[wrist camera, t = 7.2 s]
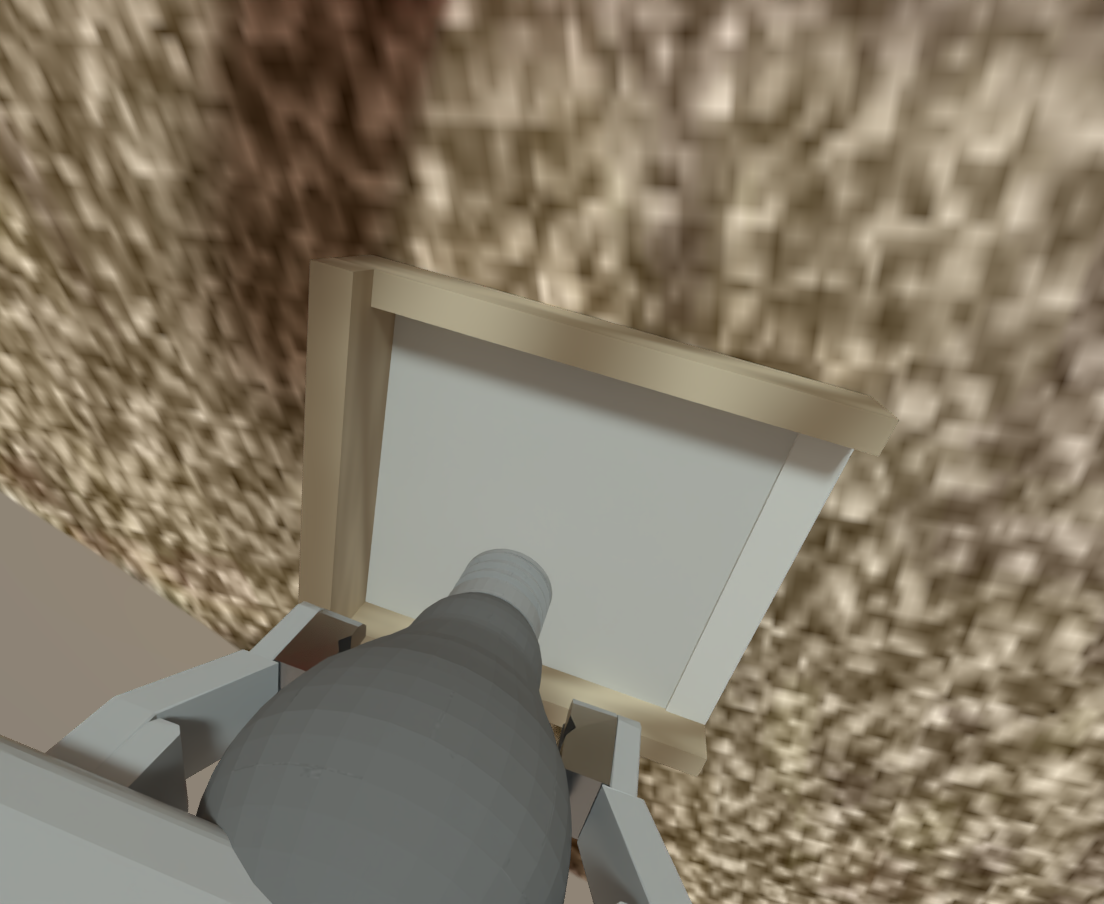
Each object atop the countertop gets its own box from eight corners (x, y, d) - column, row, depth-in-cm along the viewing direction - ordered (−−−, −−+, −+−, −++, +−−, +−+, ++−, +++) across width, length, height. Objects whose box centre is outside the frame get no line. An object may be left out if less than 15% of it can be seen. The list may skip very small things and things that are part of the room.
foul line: (871, 396, 14) (878, 402, 14) (694, 728, 20) (695, 742, 20) (816, 381, 15) (822, 386, 14) (657, 715, 20) (657, 728, 20)
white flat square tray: (871, 396, 14) (877, 401, 14) (694, 728, 20) (695, 739, 20) (372, 254, 16) (363, 255, 15) (343, 602, 22) (336, 610, 21)
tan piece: (871, 396, 14) (916, 434, 12) (694, 728, 20) (698, 804, 18) (372, 254, 16) (309, 258, 13) (343, 602, 22) (296, 654, 19)
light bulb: (501, 441, 13) (153, 861, 4) (661, 594, 14) (637, 1220, 5) (378, 563, 16) (-5, 991, 7) (519, 688, 17) (337, 1220, 8)
